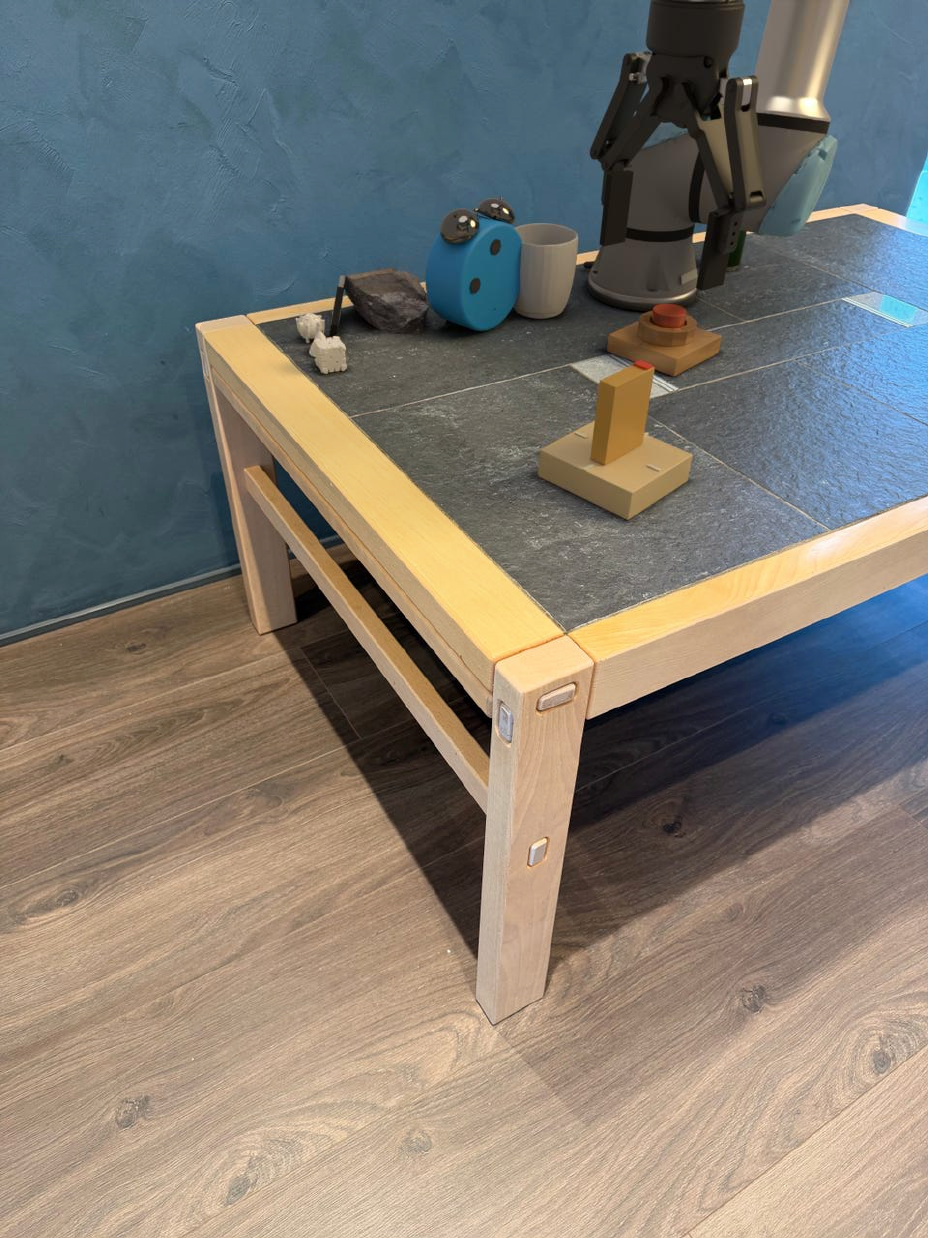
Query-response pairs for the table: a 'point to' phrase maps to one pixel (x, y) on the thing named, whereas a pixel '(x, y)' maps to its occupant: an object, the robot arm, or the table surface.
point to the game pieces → (322, 344)
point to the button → (668, 316)
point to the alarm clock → (475, 266)
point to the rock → (389, 300)
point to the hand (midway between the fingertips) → (658, 264)
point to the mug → (545, 269)
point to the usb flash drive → (337, 308)
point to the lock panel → (615, 472)
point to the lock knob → (621, 412)
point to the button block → (664, 344)
